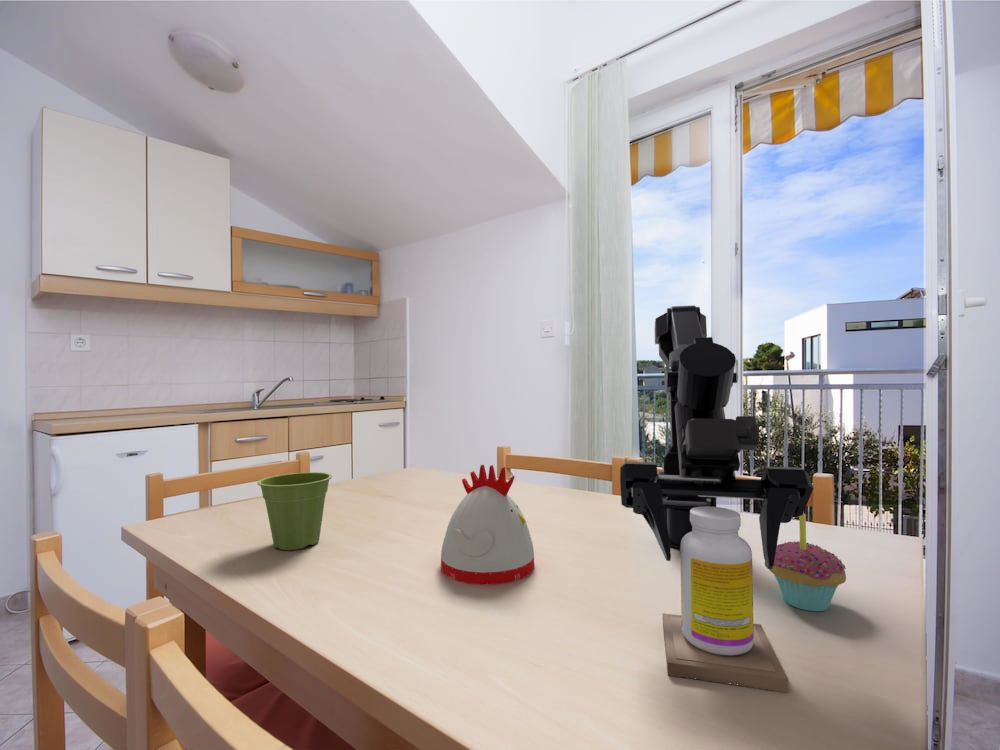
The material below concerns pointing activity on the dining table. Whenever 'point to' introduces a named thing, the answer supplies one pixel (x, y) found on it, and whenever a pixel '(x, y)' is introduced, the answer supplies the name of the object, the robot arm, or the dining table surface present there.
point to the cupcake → (807, 573)
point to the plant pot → (295, 507)
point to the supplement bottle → (716, 583)
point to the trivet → (723, 660)
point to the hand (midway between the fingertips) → (718, 563)
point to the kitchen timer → (487, 534)
